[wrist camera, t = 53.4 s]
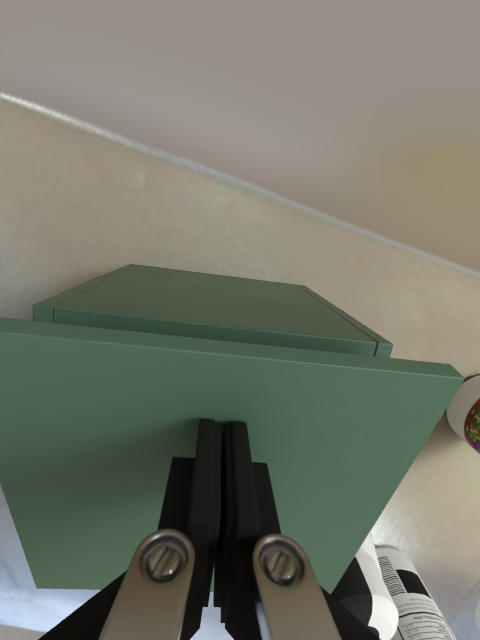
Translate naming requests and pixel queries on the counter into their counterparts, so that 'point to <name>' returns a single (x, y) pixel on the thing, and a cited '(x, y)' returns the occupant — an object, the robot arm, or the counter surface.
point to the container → (368, 592)
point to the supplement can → (411, 599)
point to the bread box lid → (181, 438)
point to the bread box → (212, 310)
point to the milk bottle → (466, 412)
